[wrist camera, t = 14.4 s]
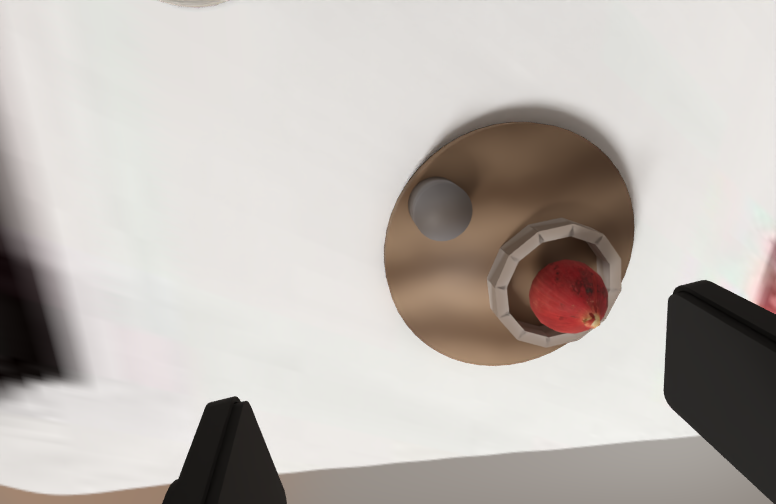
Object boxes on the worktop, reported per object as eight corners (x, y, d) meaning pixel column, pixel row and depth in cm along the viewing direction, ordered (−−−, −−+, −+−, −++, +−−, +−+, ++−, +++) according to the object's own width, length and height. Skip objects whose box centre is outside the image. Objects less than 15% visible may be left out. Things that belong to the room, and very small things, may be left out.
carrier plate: (360, 152, 35) (364, 160, 31) (623, 97, 36) (662, 97, 32) (407, 379, 42) (415, 410, 38) (623, 328, 43) (654, 353, 39)
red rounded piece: (525, 243, 37) (573, 280, 30) (585, 251, 38) (647, 289, 31) (507, 304, 39) (548, 353, 32) (566, 311, 40) (619, 360, 33)
